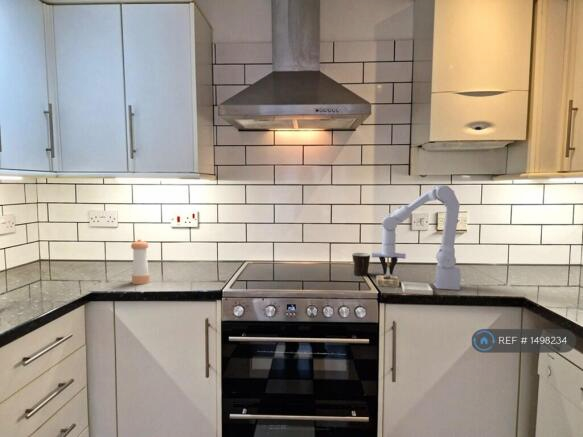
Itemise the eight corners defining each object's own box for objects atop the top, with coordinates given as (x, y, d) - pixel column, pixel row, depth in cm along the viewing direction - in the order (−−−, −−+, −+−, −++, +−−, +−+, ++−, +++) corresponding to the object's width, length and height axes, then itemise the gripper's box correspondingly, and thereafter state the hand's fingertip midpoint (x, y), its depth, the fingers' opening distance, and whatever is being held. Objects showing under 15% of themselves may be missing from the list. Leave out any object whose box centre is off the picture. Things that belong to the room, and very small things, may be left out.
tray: (427, 287, 159) (427, 283, 159) (432, 295, 148) (432, 290, 148) (400, 286, 161) (401, 281, 161) (404, 293, 150) (404, 288, 150)
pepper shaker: (130, 284, 160) (129, 241, 158) (133, 280, 167) (131, 238, 165) (148, 283, 162) (147, 240, 160) (150, 279, 169) (149, 238, 167)
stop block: (396, 281, 169) (396, 276, 168) (398, 287, 160) (399, 281, 160) (376, 280, 170) (376, 275, 170) (377, 285, 161) (377, 280, 161)
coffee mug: (355, 271, 187) (355, 252, 186) (371, 273, 183) (372, 253, 182) (347, 276, 177) (347, 256, 176) (365, 278, 173) (365, 257, 172)
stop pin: (390, 280, 166) (390, 262, 165) (390, 281, 163) (391, 263, 163) (384, 279, 166) (385, 262, 165) (385, 281, 164) (385, 263, 163)
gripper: (404, 242, 166) (403, 272, 167) (371, 241, 168) (370, 271, 170) (406, 245, 159) (405, 276, 160) (372, 244, 162) (371, 274, 163)
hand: (387, 273), depth 165 cm, fingers closed on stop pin, 2 cm apart
